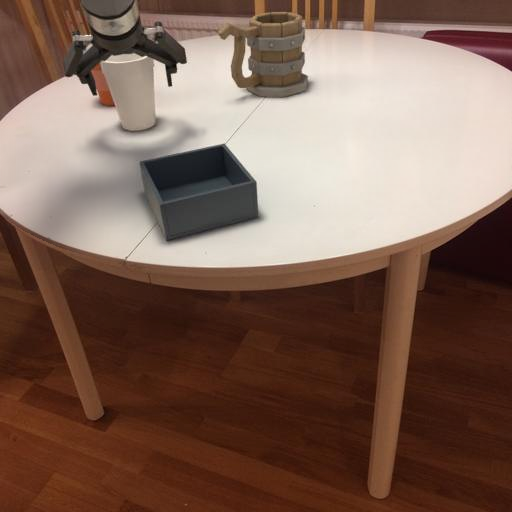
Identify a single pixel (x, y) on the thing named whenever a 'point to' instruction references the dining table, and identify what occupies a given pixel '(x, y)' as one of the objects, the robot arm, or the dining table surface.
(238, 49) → the tankard
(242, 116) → the dining table surface
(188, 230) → the bin
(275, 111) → the dining table surface
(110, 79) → the foam cup
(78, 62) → the robot arm
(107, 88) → the cup with straw
